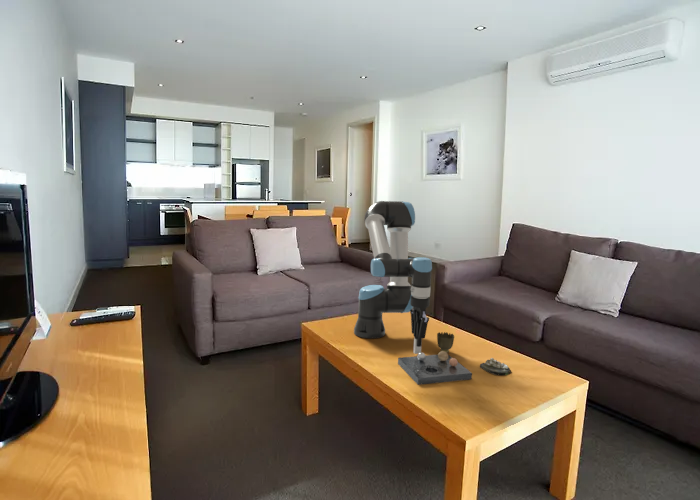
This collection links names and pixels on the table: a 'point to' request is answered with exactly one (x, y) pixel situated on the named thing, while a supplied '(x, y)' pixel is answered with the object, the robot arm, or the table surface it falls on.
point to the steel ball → (421, 356)
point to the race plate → (433, 370)
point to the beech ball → (443, 356)
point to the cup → (445, 341)
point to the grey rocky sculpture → (495, 367)
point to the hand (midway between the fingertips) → (417, 352)
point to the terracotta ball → (453, 362)
